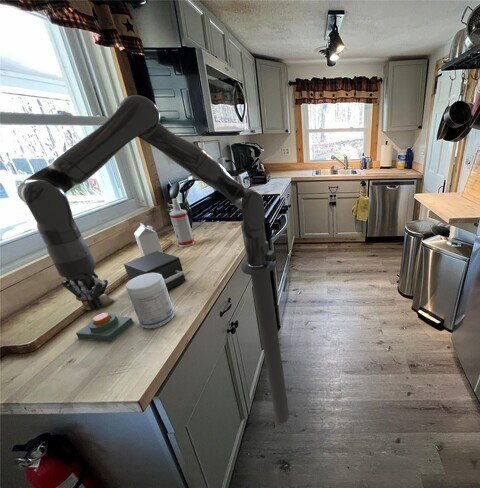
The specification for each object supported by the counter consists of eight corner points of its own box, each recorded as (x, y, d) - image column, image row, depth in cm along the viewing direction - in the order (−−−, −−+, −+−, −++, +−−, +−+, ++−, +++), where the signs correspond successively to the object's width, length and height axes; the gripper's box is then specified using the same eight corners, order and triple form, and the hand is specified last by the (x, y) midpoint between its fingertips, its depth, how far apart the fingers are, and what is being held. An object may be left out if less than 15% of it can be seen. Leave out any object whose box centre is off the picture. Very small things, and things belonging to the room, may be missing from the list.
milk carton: (148, 268, 116) (135, 228, 108) (144, 263, 120) (130, 224, 113) (166, 262, 120) (154, 223, 113) (161, 258, 125) (149, 220, 117)
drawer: (192, 282, 101) (187, 262, 98) (164, 298, 92) (157, 276, 89) (165, 273, 109) (159, 254, 106) (136, 286, 100) (129, 266, 96)
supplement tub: (139, 318, 83) (123, 279, 78) (171, 306, 89) (159, 268, 83) (143, 334, 77) (126, 293, 71) (178, 320, 82) (165, 280, 76)
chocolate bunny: (92, 301, 93) (81, 277, 89) (115, 300, 94) (105, 276, 90) (80, 311, 88) (67, 286, 84) (104, 309, 88) (93, 284, 84)
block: (133, 323, 82) (129, 312, 80) (111, 341, 74) (106, 330, 73) (103, 320, 83) (98, 310, 82) (78, 338, 76) (72, 328, 74)
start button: (113, 317, 79) (111, 313, 78) (102, 325, 75) (100, 321, 75) (103, 316, 79) (100, 312, 78) (91, 324, 76) (89, 320, 75)
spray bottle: (178, 248, 136) (164, 201, 126) (179, 243, 142) (166, 198, 132) (194, 245, 138) (182, 199, 128) (194, 240, 145) (183, 196, 135)
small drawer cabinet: (185, 280, 104) (179, 257, 100) (154, 297, 94) (145, 271, 90) (164, 273, 111) (156, 250, 107) (132, 287, 101) (123, 263, 97)
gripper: (106, 250, 71) (127, 301, 78) (65, 248, 73) (90, 299, 80) (78, 262, 64) (105, 318, 71) (34, 261, 66) (64, 315, 73)
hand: (97, 308), depth 75 cm, fingers closed
